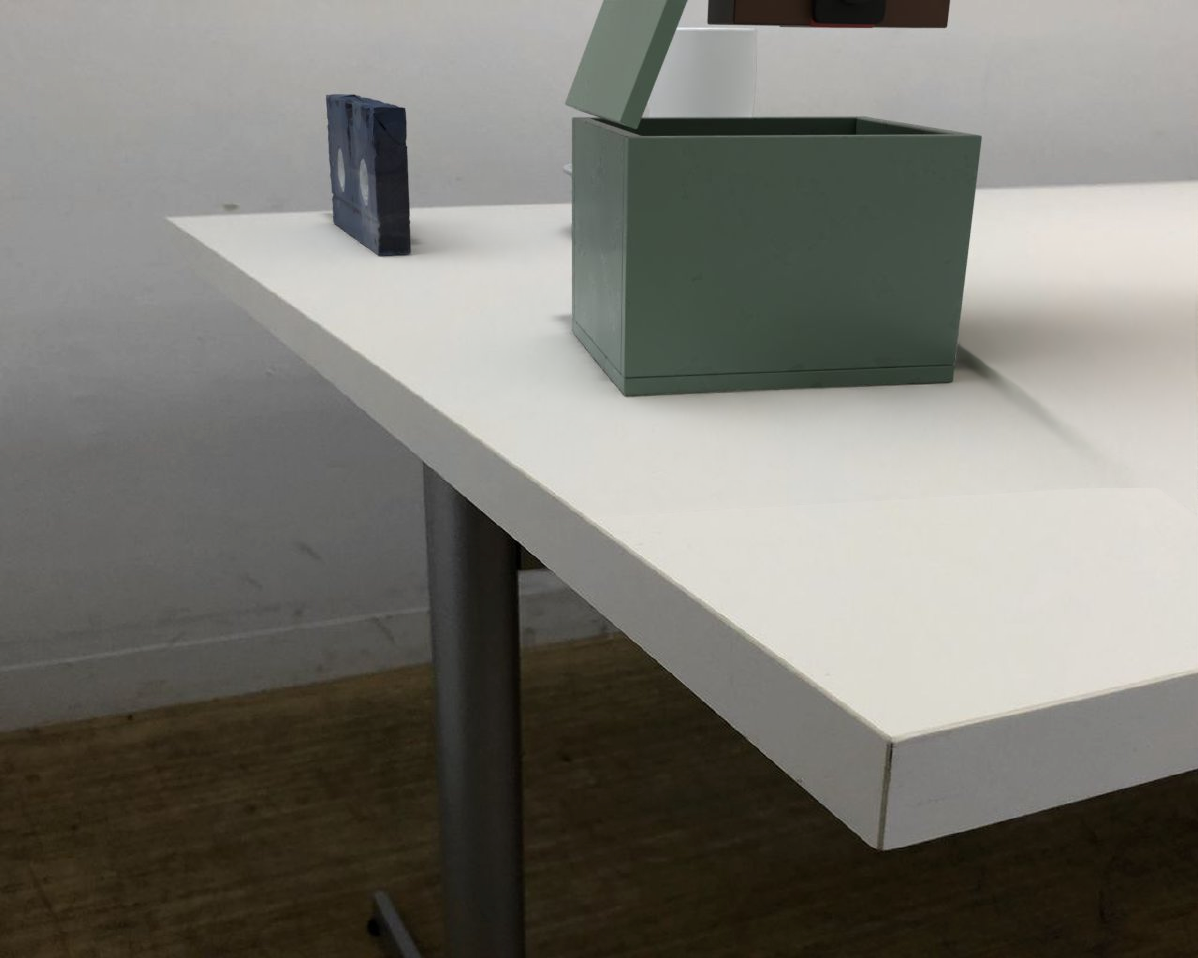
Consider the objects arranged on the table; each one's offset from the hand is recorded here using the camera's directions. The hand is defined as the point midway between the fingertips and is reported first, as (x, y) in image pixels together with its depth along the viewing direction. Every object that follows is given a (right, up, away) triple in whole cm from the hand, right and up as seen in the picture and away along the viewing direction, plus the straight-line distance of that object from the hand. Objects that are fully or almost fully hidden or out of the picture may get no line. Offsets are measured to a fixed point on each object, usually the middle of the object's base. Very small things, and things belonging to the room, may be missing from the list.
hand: (826, 19), depth 59 cm
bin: (-3, -14, +6) cm, 16 cm away
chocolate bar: (0, 0, 0) cm, 0 cm away
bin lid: (-7, +3, -3) cm, 8 cm away
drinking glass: (-4, -5, +27) cm, 28 cm away
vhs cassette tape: (-28, +1, +41) cm, 50 cm away
